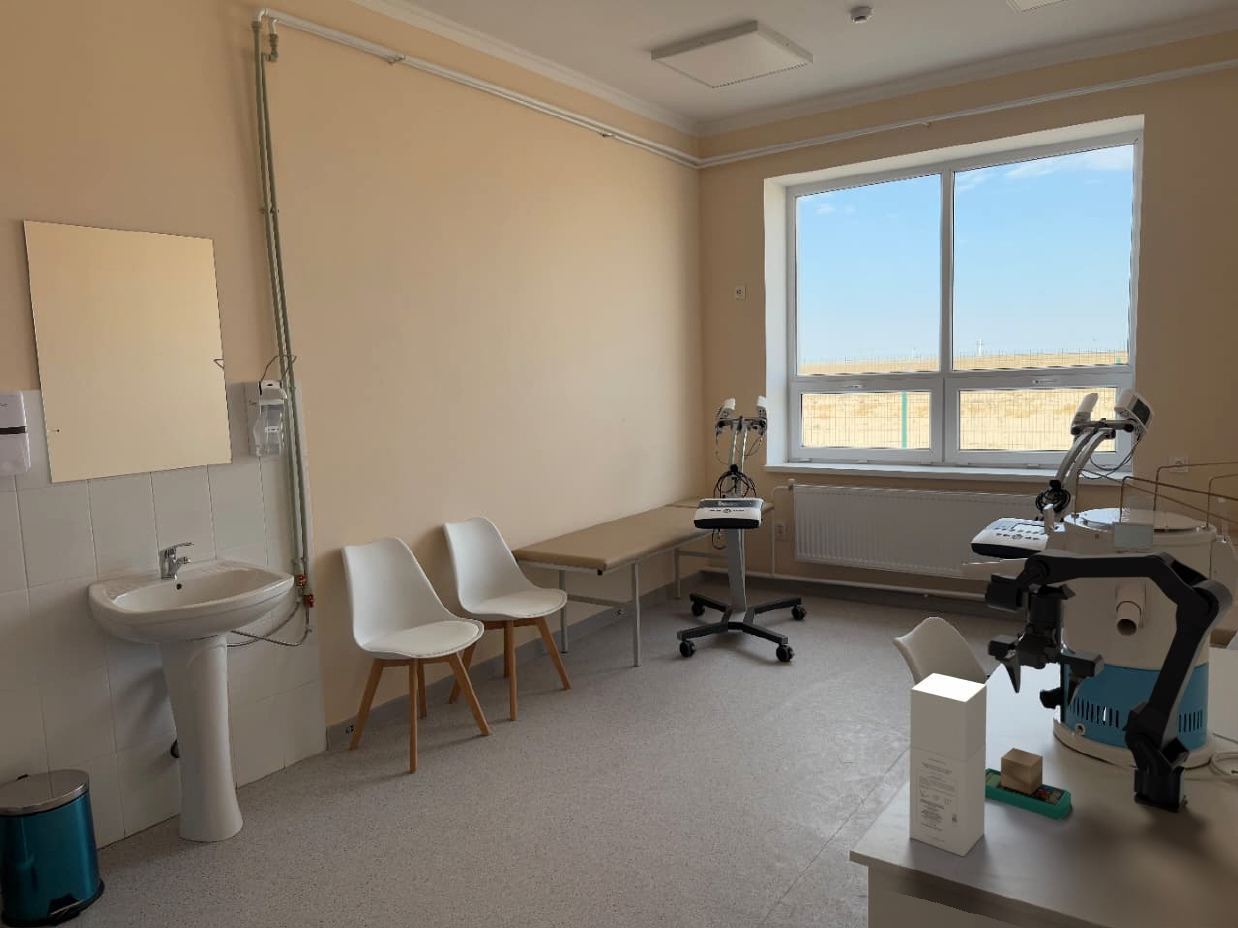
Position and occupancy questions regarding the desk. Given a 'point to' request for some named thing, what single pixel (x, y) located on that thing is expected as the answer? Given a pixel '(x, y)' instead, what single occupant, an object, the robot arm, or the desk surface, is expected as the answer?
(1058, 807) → the digital multimeter
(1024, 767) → the walnut cube
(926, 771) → the tall white carton
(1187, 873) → the desk surface
